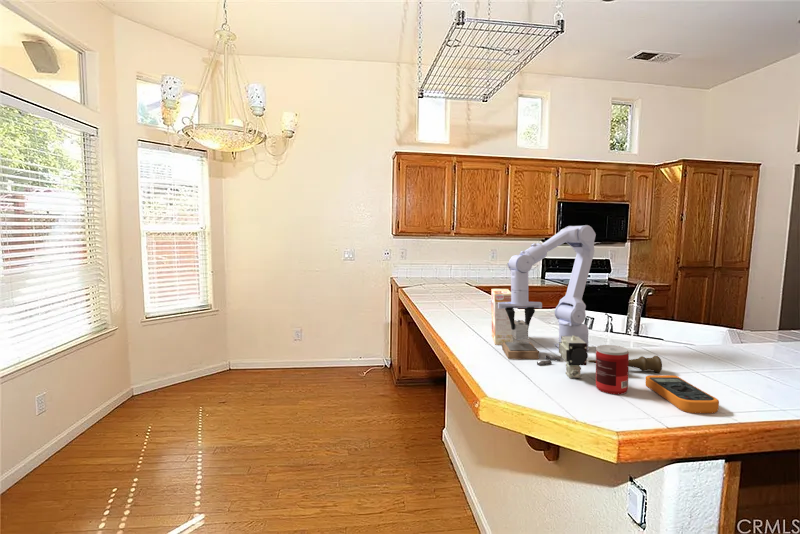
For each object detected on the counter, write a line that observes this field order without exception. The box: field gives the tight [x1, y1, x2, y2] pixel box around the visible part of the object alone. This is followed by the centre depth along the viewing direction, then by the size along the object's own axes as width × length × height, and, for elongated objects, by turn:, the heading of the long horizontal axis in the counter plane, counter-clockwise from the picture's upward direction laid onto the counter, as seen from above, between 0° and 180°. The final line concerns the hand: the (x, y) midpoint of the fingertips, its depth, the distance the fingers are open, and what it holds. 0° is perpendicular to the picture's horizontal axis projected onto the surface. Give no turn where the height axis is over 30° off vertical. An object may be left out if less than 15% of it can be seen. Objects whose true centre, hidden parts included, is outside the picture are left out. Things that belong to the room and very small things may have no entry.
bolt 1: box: [536, 359, 553, 367], centre depth 132 cm, size 4×1×1 cm
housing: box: [512, 319, 529, 340], centre depth 144 cm, size 8×4×5 cm, turn 176°
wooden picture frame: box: [501, 341, 540, 360], centre depth 144 cm, size 10×12×3 cm
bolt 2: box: [545, 354, 561, 362], centre depth 137 cm, size 4×1×1 cm
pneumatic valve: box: [558, 335, 589, 379], centre depth 120 cm, size 6×12×12 cm, turn 173°
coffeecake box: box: [490, 288, 514, 346], centre depth 162 cm, size 15×7×20 cm, turn 172°
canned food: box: [595, 344, 630, 395], centre depth 109 cm, size 8×8×11 cm
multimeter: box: [645, 374, 720, 414], centre depth 103 cm, size 9×18×3 cm, turn 176°
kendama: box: [587, 355, 663, 374], centre depth 124 cm, size 6×10×20 cm
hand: (519, 329), depth 143 cm, fingers closed on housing, 4 cm apart
